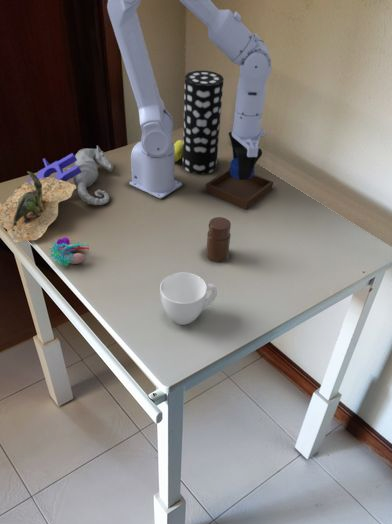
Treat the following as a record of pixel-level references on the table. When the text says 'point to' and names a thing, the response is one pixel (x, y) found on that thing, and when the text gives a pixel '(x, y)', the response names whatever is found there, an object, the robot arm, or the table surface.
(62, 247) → the anatomy model
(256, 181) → the tray
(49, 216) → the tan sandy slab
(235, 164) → the jar lid
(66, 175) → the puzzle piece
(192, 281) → the cup
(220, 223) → the jar
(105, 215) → the table surface
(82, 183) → the seahorse
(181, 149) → the lemon
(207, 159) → the spotted tube
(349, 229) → the table surface
